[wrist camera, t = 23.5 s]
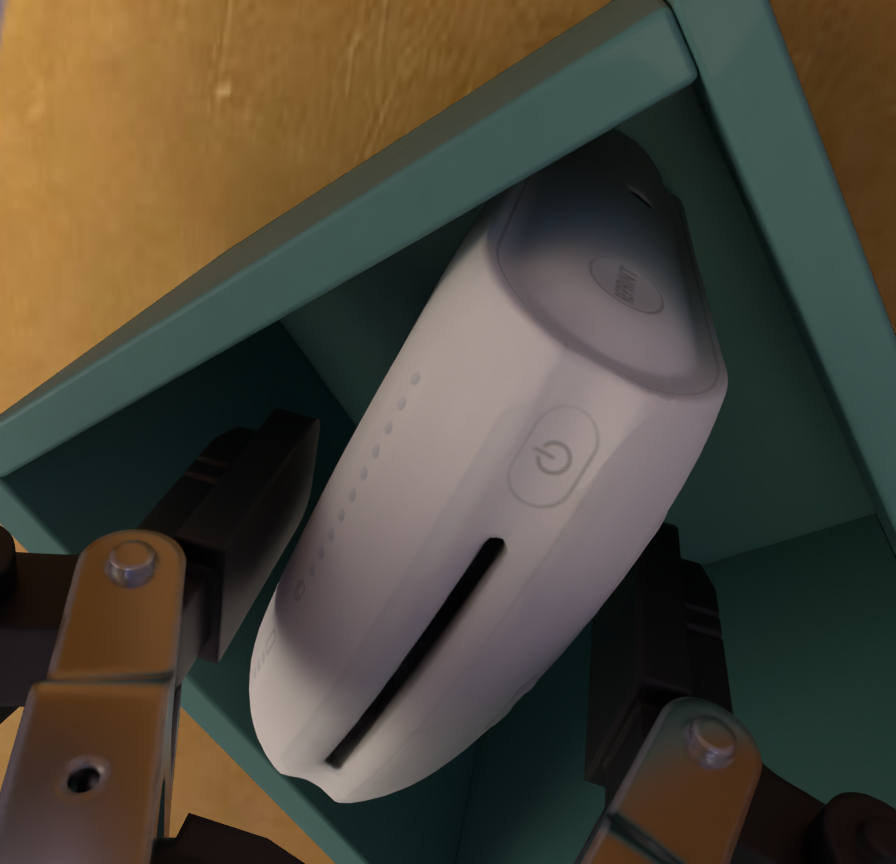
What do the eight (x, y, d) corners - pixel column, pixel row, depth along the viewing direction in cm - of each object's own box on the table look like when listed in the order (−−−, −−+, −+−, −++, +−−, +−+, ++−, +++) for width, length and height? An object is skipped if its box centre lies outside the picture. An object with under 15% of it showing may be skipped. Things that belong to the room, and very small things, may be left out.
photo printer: (546, 80, 17) (425, 265, 7) (710, 176, 17) (831, 491, 7) (370, 416, 23) (156, 798, 12) (497, 484, 23) (392, 911, 13)
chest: (221, 254, 22) (-65, 460, 13) (681, -44, 16) (751, -51, 7) (494, 630, 27) (429, 960, 18) (907, 507, 22) (1108, 896, 13)
